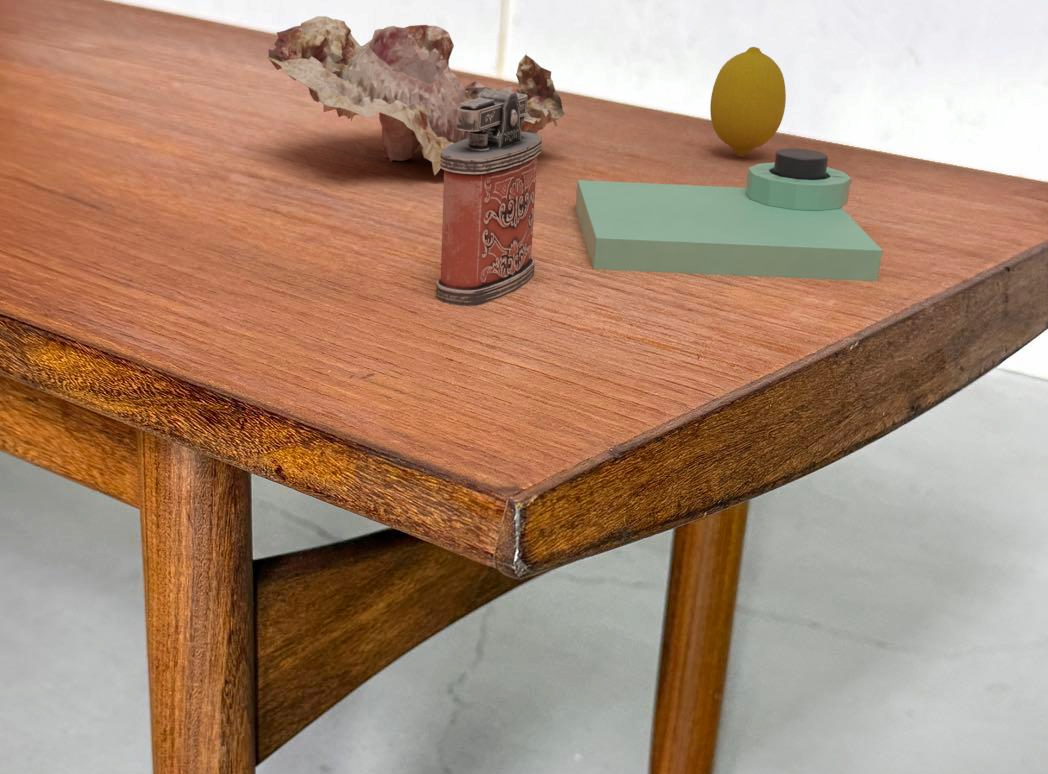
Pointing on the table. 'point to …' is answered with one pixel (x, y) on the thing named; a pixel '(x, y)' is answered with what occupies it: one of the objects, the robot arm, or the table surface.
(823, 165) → the power button
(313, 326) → the table surface
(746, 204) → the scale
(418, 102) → the mineral formation
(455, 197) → the lighter
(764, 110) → the lemon
